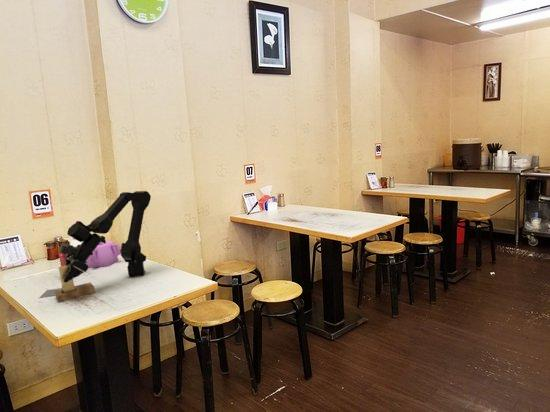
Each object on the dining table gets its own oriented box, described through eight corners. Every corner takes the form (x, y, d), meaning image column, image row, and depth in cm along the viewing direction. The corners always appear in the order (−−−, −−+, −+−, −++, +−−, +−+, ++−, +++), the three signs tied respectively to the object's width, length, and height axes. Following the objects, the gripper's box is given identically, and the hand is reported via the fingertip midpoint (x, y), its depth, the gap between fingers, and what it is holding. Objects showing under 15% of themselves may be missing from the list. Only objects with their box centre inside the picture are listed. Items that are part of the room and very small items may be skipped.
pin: (74, 294, 172) (69, 264, 170) (76, 297, 169) (70, 266, 167) (63, 297, 170) (58, 266, 168) (65, 300, 167) (59, 269, 165)
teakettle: (93, 270, 206) (89, 246, 204) (80, 265, 218) (76, 242, 216) (126, 261, 218) (122, 238, 216) (111, 257, 230) (108, 235, 228)
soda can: (73, 279, 195) (68, 252, 193) (59, 279, 196) (54, 252, 194) (82, 274, 202) (78, 248, 200) (69, 274, 203) (65, 248, 201)
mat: (71, 287, 182) (71, 286, 182) (64, 295, 173) (64, 294, 173) (47, 290, 181) (46, 290, 181) (38, 299, 171) (38, 298, 171)
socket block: (91, 288, 178) (90, 282, 177) (95, 293, 171) (94, 286, 171) (56, 297, 171) (54, 290, 170) (58, 303, 164) (57, 296, 163)
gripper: (66, 233, 176) (42, 264, 171) (74, 239, 160) (47, 274, 156) (89, 247, 181) (66, 277, 177) (99, 254, 166) (73, 288, 162)
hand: (62, 279), depth 168 cm, fingers open, 9 cm apart
